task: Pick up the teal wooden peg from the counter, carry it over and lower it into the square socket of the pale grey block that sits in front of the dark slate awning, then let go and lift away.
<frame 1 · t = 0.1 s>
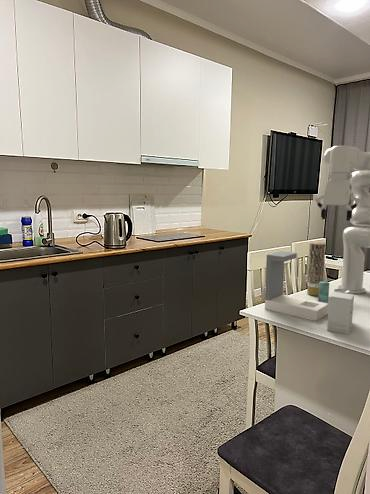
hand: (335, 219, 153), 37 cm above the table, tool pointing down, fingers open, 9 cm apart
socket block: (308, 313, 150), on the table
soda can: (339, 322, 141), on the table
supplement box: (339, 329, 133), on the table
peg: (322, 305, 161), on the table
paper tube: (314, 294, 178), on the table
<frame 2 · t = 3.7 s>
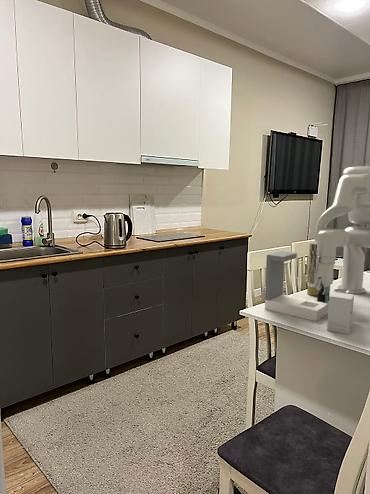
hand: (323, 301, 161), 2 cm above the table, tool pointing down, fingers closed on peg, 4 cm apart
peg: (322, 305, 161), on the table, touching gripper
everything else where it was.
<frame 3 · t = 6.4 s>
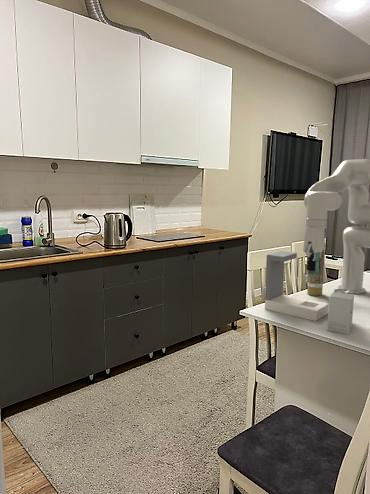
hand: (313, 269, 148), 18 cm above the table, tool pointing down, fingers closed on peg, 4 cm apart
peg: (313, 273, 149), point 16 cm above the table, touching gripper
everything else where it was.
when the fingers open (5 cm above the table, at t = 9.1 s): peg drops 3 cm, resting in socket block.
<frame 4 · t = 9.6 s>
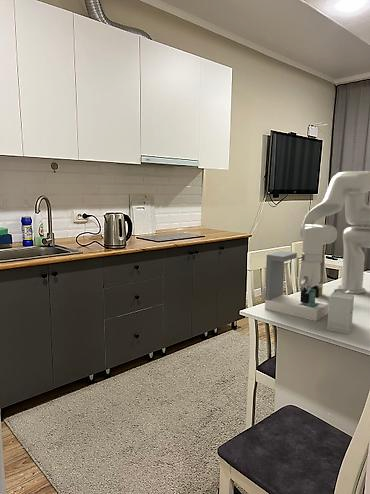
hand: (309, 299, 149), 6 cm above the table, tool pointing down, fingers open, 9 cm apart
peg: (309, 313, 150), resting in socket block
everything else where it was.
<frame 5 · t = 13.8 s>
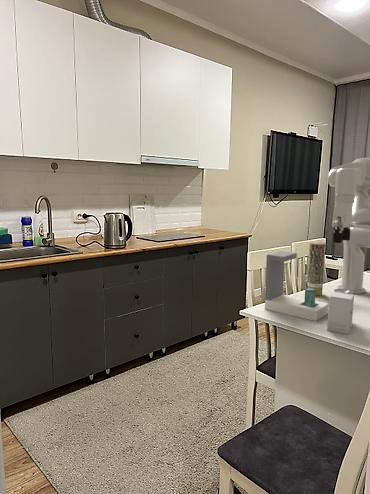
hand: (341, 241, 153), 28 cm above the table, tool pointing down, fingers open, 9 cm apart
nothing on the table moved.
at the end: peg 0.2 cm off-centre on the socket block, point 0.0 cm above the socket block's base; peg tilted 0°; the gripper is holding nothing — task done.
